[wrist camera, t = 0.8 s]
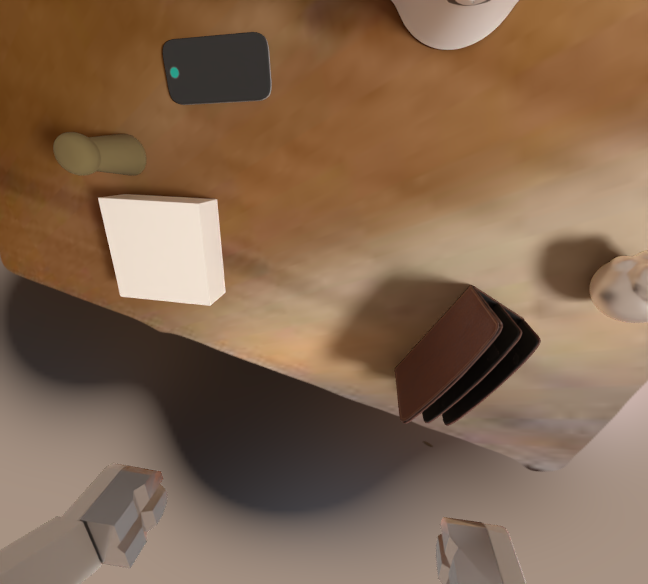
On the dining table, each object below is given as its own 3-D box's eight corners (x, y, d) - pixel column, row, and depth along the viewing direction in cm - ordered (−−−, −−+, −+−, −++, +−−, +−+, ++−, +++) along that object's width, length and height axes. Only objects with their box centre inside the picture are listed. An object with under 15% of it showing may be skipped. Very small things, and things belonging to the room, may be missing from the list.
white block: (126, 193, 53) (97, 197, 48) (217, 198, 51) (198, 203, 46) (144, 283, 59) (120, 296, 54) (226, 291, 57) (210, 305, 52)
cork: (119, 178, 52) (57, 183, 42) (104, 137, 50) (35, 132, 40) (151, 171, 51) (95, 174, 41) (137, 129, 49) (74, 122, 39)
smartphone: (159, 39, 43) (266, 30, 41) (163, 42, 44) (268, 32, 42) (170, 105, 46) (271, 99, 44) (174, 105, 47) (273, 100, 45)
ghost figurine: (667, 259, 44) (743, 285, 35) (615, 315, 48) (671, 351, 39) (608, 232, 44) (668, 251, 35) (560, 290, 48) (603, 321, 39)
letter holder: (393, 368, 58) (397, 428, 45) (470, 282, 50) (502, 326, 37) (439, 396, 58) (456, 463, 45) (522, 316, 50) (571, 370, 37)
